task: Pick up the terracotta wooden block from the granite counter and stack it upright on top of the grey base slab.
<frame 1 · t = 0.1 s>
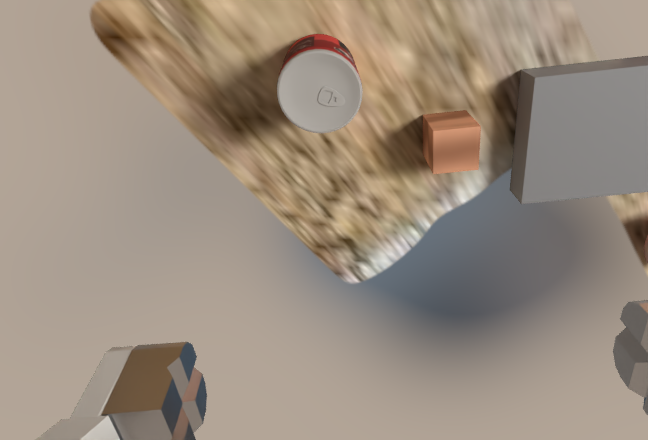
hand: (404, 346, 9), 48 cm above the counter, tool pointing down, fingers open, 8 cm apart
base slab: (578, 127, 57), on the counter
canned food: (319, 68, 53), on the counter
terracotta block: (443, 132, 57), on the counter
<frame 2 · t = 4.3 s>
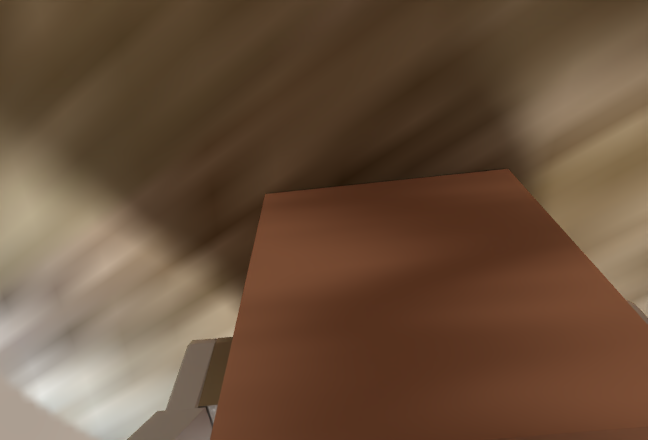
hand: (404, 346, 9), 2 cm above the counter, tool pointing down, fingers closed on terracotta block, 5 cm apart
terracotta block: (390, 279, 11), on the counter, touching gripper
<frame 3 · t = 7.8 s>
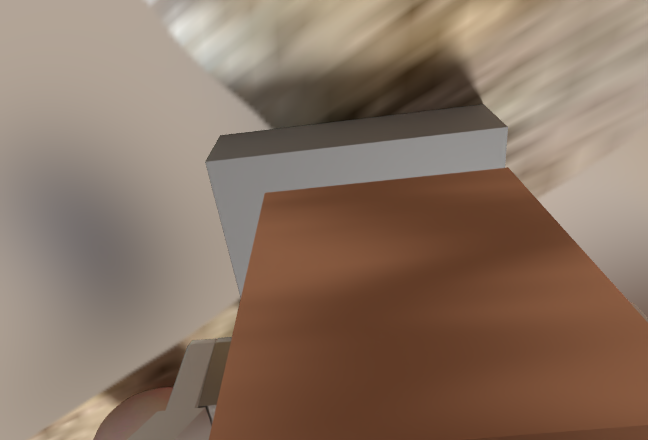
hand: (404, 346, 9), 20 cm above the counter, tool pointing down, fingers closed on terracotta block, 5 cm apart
base slab: (360, 232, 31), on the counter
decorative fruit: (174, 390, 38), on the counter
terracotta block: (390, 278, 11), point 17 cm above the counter, touching gripper
when the fingers open (8 cm above the counter, at t = 11.5 s): terracotta block drops 1 cm, resting on base slab.
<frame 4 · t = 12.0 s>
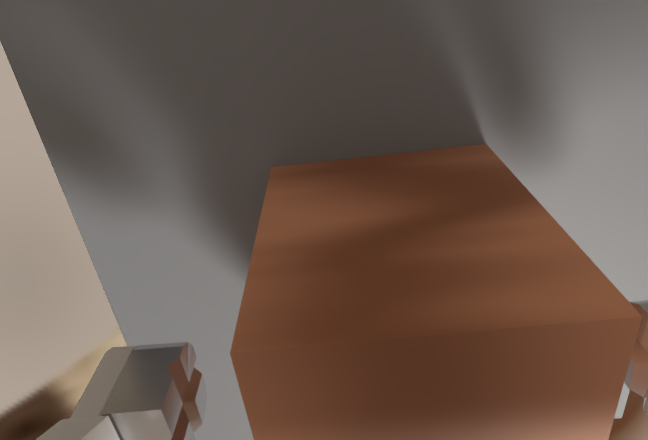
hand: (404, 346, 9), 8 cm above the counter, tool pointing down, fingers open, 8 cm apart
base slab: (367, 183, 16), on the counter
terracotta block: (383, 246, 12), point 4 cm above the counter, touching base slab
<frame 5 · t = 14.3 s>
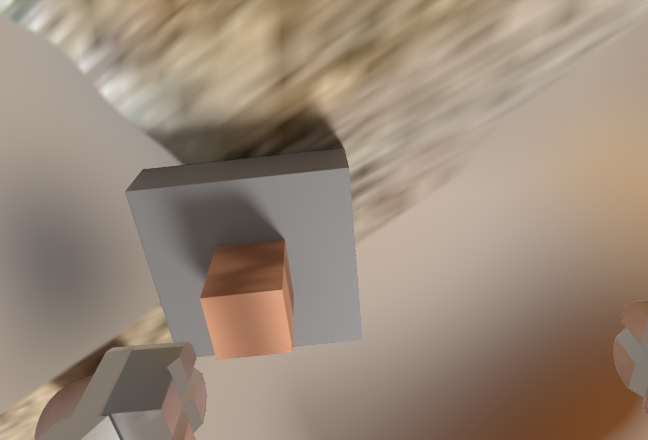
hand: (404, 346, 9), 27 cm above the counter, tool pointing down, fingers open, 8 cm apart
base slab: (259, 245, 39), on the counter
decorative fruit: (113, 379, 45), on the counter
terracotta block: (256, 272, 35), point 4 cm above the counter, touching base slab
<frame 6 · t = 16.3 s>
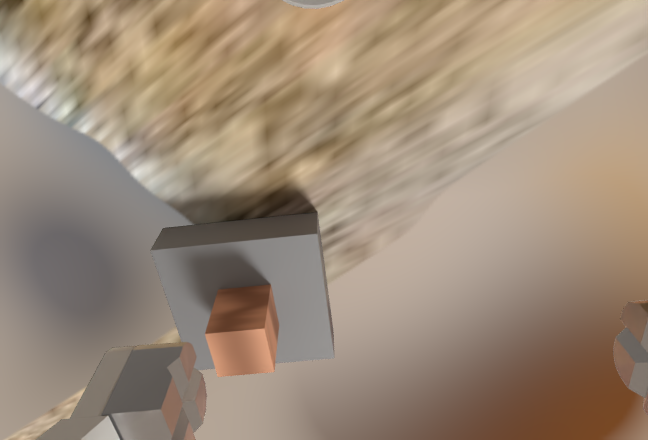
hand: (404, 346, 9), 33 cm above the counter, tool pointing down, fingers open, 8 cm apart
base slab: (253, 283, 49), on the counter
terracotta block: (249, 307, 46), point 4 cm above the counter, touching base slab
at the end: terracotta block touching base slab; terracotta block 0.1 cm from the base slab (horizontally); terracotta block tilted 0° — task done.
